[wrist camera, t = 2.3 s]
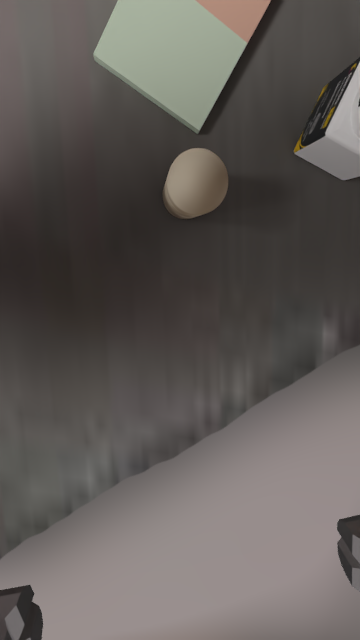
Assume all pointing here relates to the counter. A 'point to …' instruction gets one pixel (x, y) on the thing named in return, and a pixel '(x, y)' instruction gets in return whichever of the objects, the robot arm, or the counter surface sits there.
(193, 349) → the counter surface
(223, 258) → the counter surface
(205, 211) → the beige cylinder
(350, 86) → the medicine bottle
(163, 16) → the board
